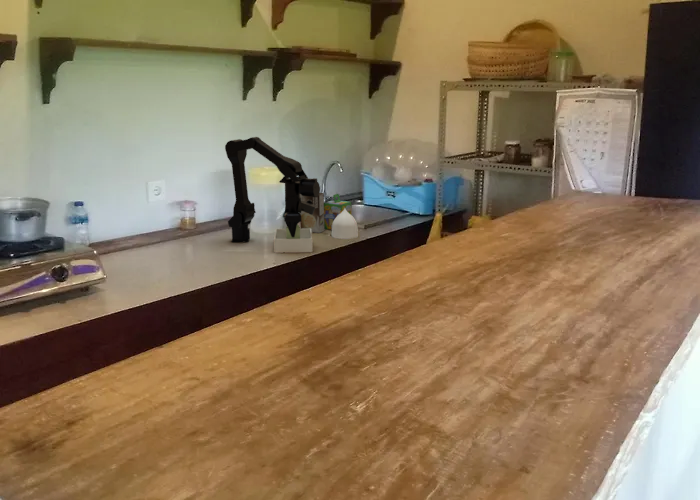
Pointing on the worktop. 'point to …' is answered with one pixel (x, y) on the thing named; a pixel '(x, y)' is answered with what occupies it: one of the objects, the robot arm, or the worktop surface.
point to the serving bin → (292, 241)
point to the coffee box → (315, 220)
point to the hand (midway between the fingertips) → (293, 235)
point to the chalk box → (334, 210)
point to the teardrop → (344, 226)
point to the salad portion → (297, 233)
